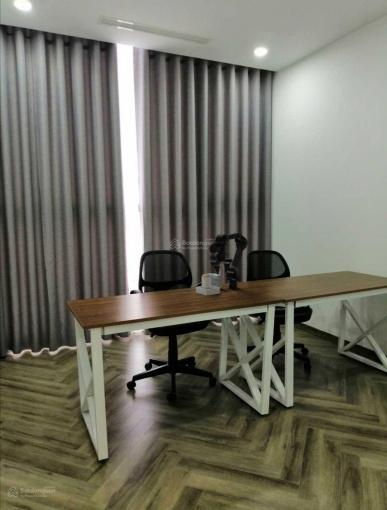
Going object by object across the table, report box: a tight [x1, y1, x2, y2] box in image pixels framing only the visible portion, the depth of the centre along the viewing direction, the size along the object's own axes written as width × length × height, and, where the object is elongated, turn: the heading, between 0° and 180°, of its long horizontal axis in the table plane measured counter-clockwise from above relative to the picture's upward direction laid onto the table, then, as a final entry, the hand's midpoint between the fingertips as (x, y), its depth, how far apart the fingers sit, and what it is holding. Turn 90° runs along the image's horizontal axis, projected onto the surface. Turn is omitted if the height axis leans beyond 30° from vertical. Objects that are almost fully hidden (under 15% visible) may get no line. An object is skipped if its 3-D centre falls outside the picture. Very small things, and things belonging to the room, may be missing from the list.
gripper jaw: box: [201, 273, 211, 289], centre depth 257 cm, size 5×5×12 cm
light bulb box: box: [207, 272, 222, 290], centre depth 273 cm, size 11×7×11 cm, turn 62°
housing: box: [195, 285, 221, 297], centre depth 258 cm, size 12×12×4 cm
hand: (221, 273), depth 260 cm, fingers open, 9 cm apart
